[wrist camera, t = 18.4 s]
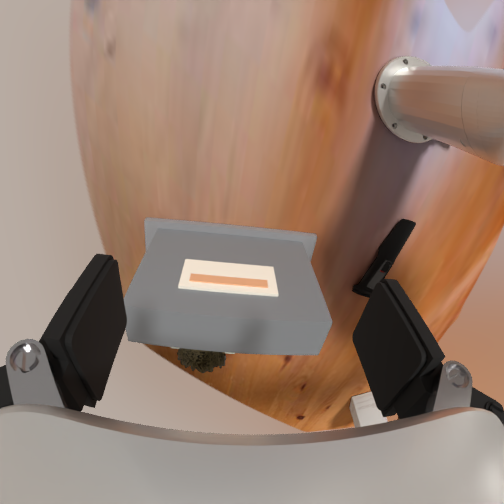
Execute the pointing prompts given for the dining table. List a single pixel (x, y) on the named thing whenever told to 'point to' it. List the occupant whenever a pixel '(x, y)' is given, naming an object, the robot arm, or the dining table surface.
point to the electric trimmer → (385, 257)
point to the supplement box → (365, 410)
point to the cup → (201, 359)
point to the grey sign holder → (227, 290)
